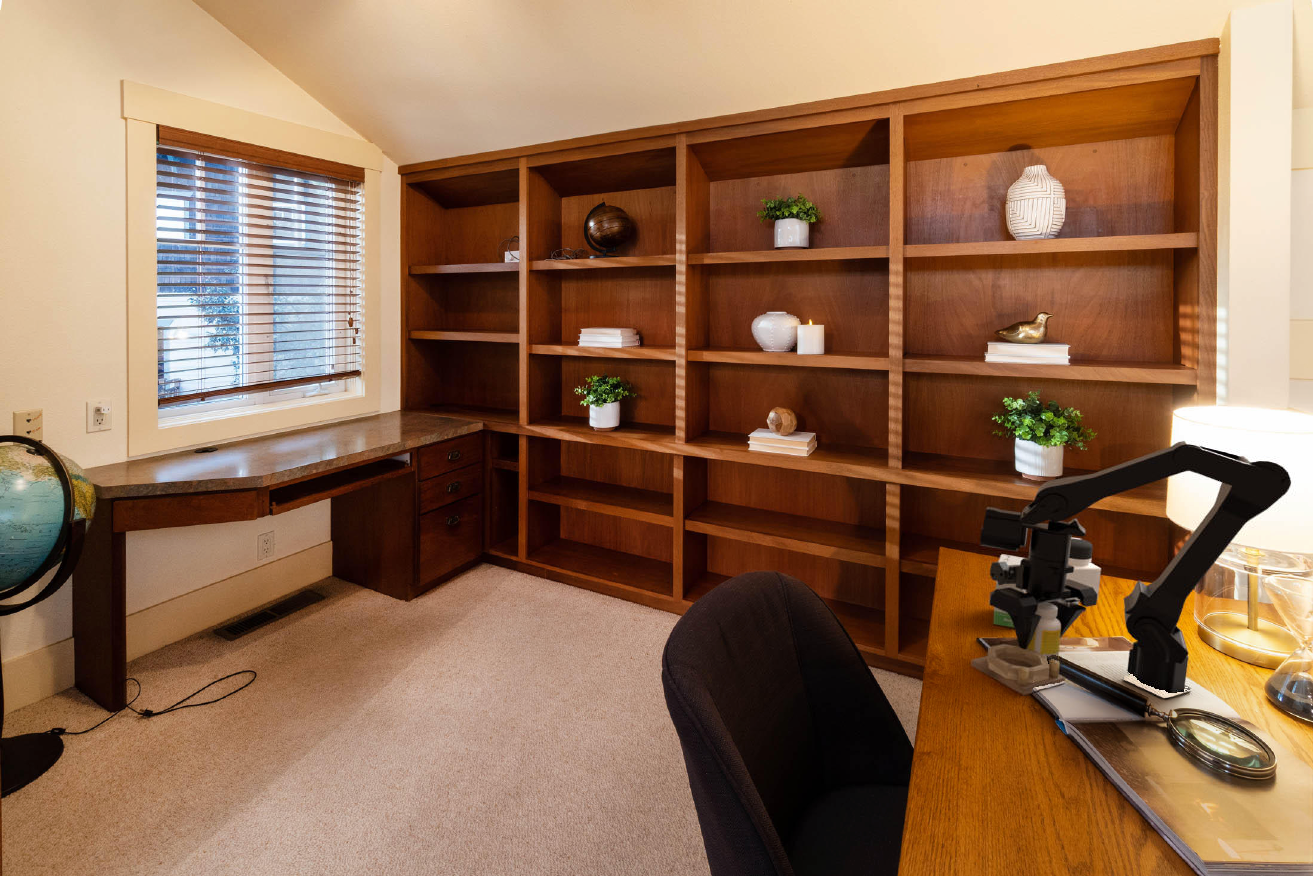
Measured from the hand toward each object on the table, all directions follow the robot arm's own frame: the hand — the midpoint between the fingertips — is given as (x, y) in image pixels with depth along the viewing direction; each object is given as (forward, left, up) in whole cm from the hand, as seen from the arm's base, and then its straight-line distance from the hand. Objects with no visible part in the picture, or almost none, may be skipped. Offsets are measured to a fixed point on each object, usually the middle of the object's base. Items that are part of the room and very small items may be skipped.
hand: (1038, 645), depth 111 cm
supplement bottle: (0, -1, -3) cm, 3 cm away
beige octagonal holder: (-2, +7, -3) cm, 8 cm away
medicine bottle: (+18, -33, -3) cm, 38 cm away
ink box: (+14, -10, -3) cm, 17 cm away
